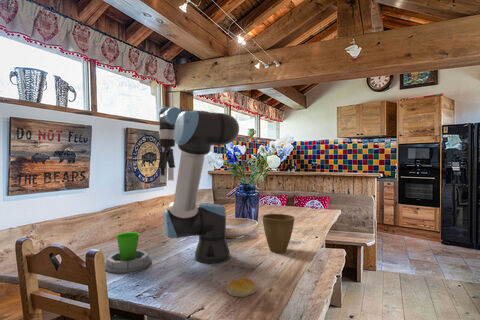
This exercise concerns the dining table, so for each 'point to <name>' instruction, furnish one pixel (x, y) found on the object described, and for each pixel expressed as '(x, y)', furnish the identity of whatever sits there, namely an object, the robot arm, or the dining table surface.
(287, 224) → the plant pot
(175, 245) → the dining table surface
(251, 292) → the bread roll
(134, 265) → the ring
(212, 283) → the dining table surface
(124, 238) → the cup
